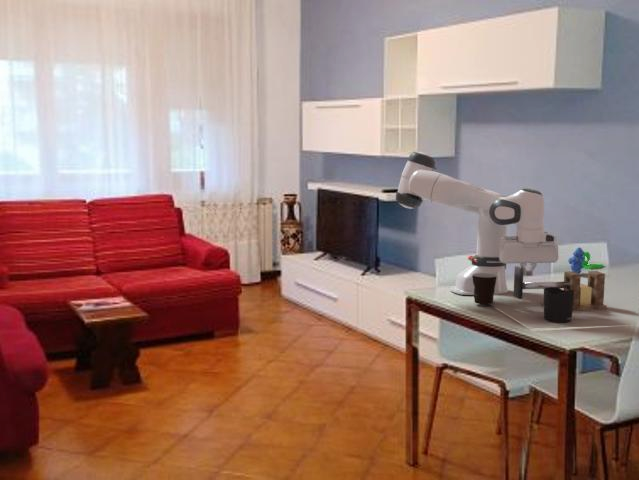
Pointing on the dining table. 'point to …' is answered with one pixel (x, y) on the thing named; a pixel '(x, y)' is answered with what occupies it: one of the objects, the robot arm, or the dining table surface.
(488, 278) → the coffee mug
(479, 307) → the dining table surface
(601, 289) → the bearing block
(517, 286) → the shaft
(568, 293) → the pen holder
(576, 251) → the grapes
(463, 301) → the dining table surface
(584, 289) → the spacer
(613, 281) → the dining table surface
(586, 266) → the mechanical part
